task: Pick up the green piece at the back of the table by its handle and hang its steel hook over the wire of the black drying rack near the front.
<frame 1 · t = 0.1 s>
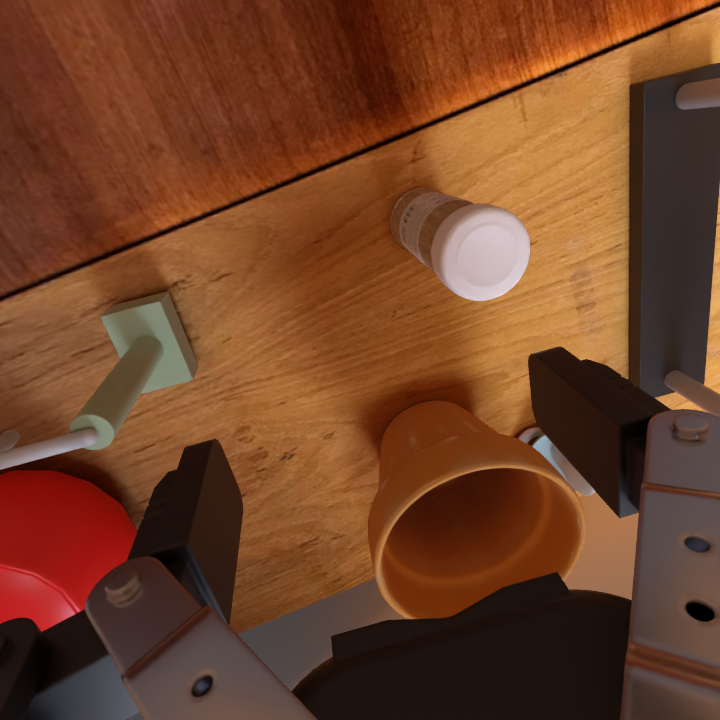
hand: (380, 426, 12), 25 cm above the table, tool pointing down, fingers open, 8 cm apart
flower pot: (429, 442, 44), on the table
green piece: (160, 332, 36), on the table
sprinkles bottle: (418, 218, 36), on the table
pacifier: (540, 449, 46), on the table
teapot: (48, 519, 42), on the table
rack: (664, 250, 39), on the table
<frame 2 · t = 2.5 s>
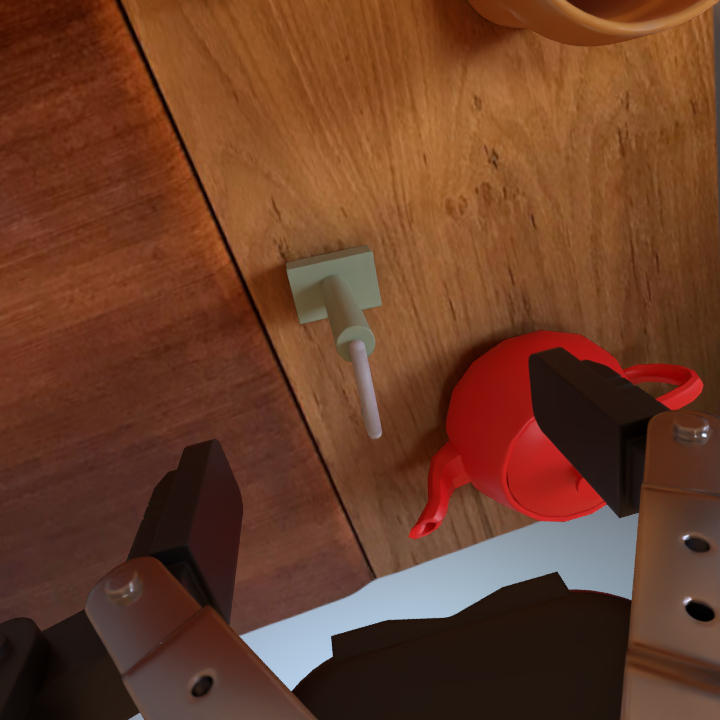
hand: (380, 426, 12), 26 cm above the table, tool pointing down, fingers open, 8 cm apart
green piece: (331, 276, 37), on the table
teapot: (509, 403, 45), on the table
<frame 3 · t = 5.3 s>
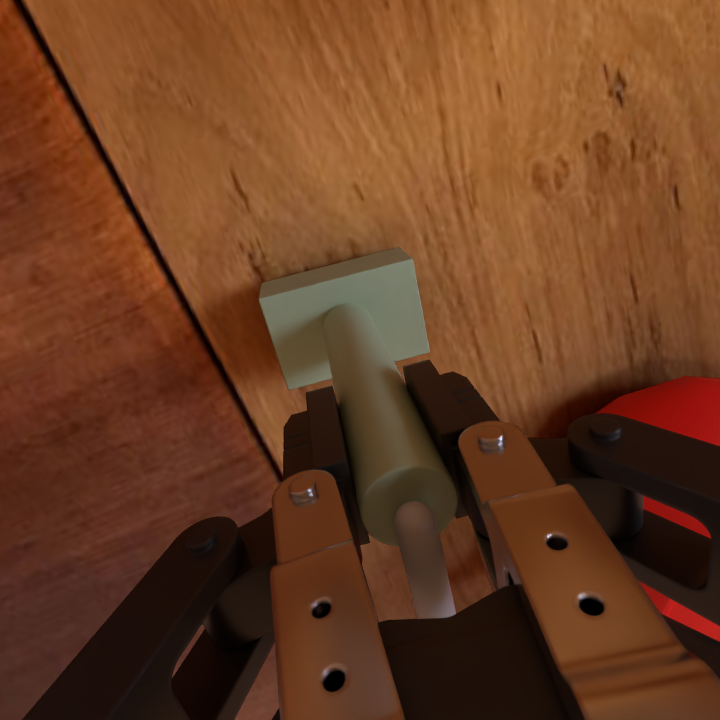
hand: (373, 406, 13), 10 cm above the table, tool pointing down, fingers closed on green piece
green piece: (339, 302, 22), on the table, touching gripper
teapot: (617, 480, 29), on the table
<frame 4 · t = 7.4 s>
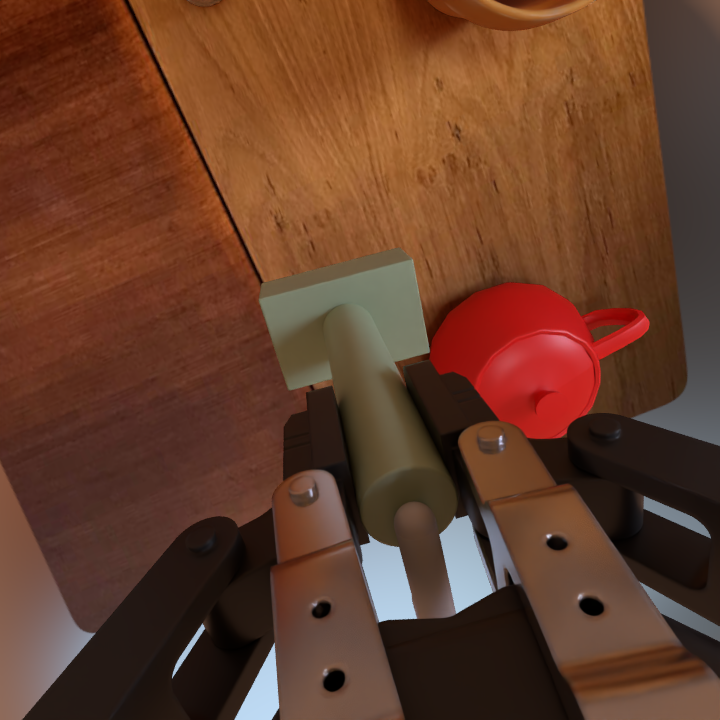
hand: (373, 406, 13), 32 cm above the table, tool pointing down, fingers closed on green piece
green piece: (339, 302, 22), point 22 cm above the table, touching gripper
teapot: (486, 352, 50), on the table
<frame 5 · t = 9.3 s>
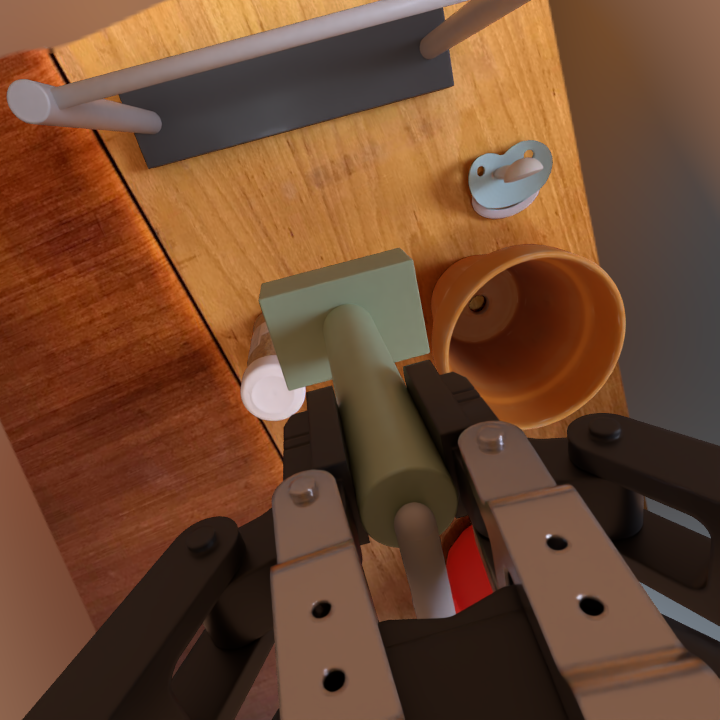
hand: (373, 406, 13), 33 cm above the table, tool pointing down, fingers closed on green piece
flower pot: (474, 298, 48), on the table
green piece: (339, 302, 22), point 23 cm above the table, touching gripper
sprinkles bottle: (276, 329, 47), on the table
pacifier: (501, 182, 44), on the table
teapot: (491, 548, 62), on the table
rack: (291, 86, 39), on the table
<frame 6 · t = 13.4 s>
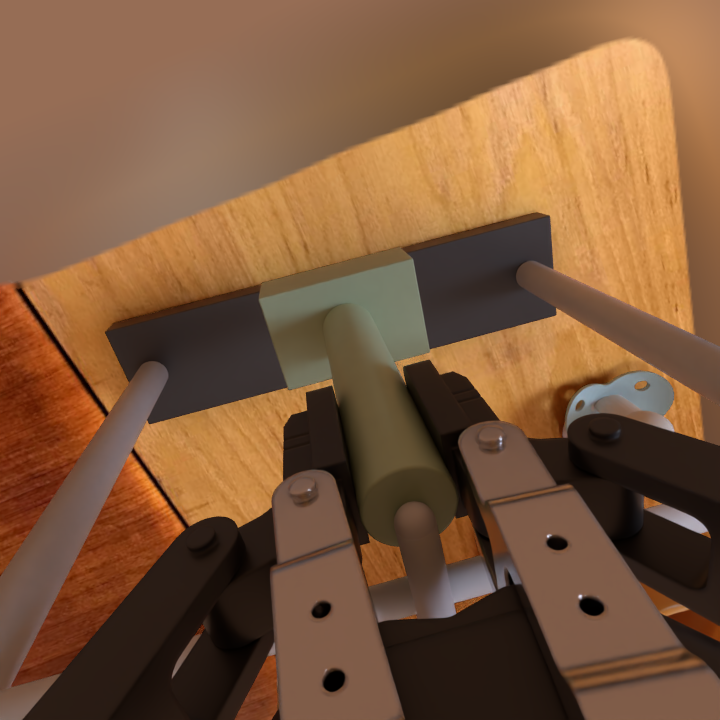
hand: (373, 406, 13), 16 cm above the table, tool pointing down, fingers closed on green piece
flower pot: (553, 526, 39), on the table
green piece: (339, 302, 22), point 6 cm above the table, touching gripper
pacifier: (599, 406, 35), on the table
rack: (340, 315, 29), on the table
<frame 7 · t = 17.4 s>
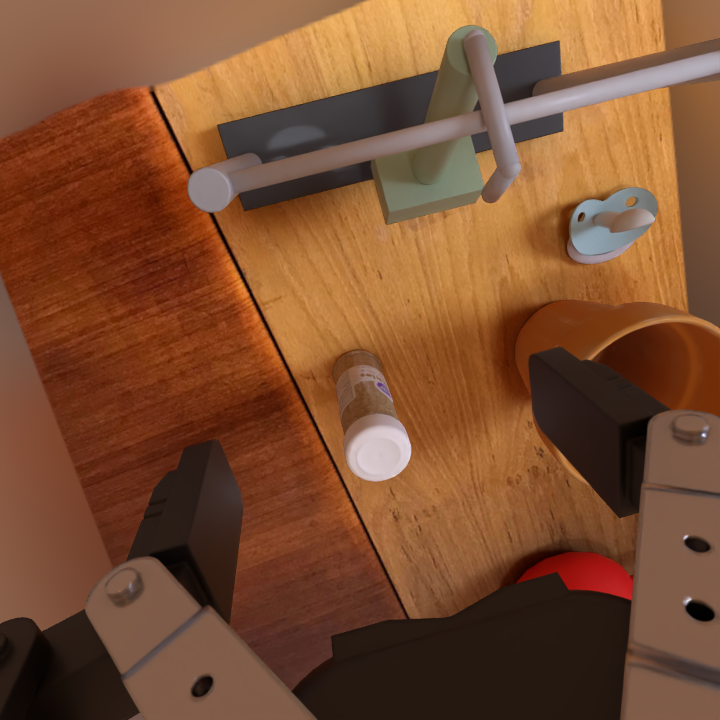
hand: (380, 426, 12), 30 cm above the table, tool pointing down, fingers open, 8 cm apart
flower pot: (558, 342, 47), on the table
green piece: (420, 190, 33), point 7 cm above the table, tilted 27°, touching rack
sprinkles bottle: (356, 370, 46), on the table
pacifier: (597, 227, 43), on the table
teapot: (550, 587, 61), on the table
rack: (393, 128, 37), on the table
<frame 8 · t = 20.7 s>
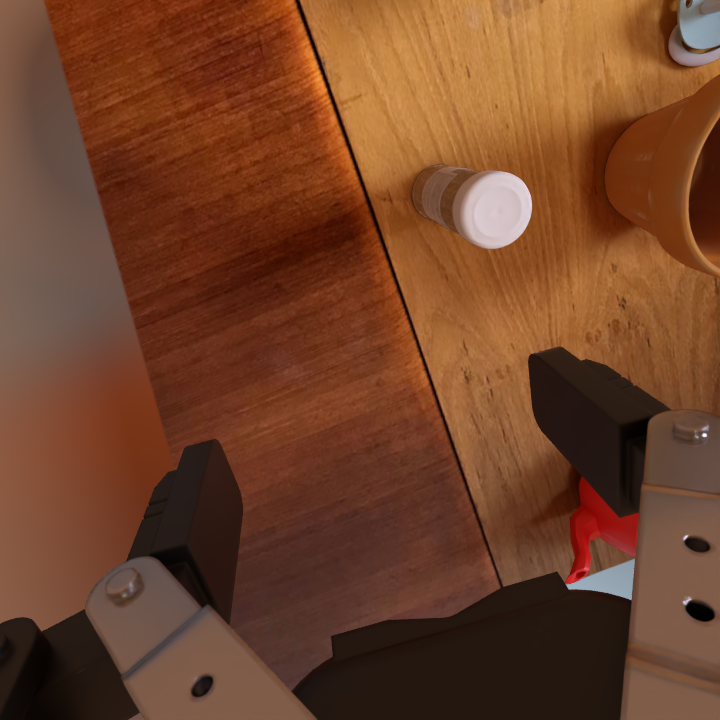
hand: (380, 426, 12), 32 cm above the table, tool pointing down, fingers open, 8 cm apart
flower pot: (650, 166, 44), on the table
sprinkles bottle: (435, 192, 42), on the table
pacifier: (699, 24, 40), on the table
teapot: (621, 470, 57), on the table
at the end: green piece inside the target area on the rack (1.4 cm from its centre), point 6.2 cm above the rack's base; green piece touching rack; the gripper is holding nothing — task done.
